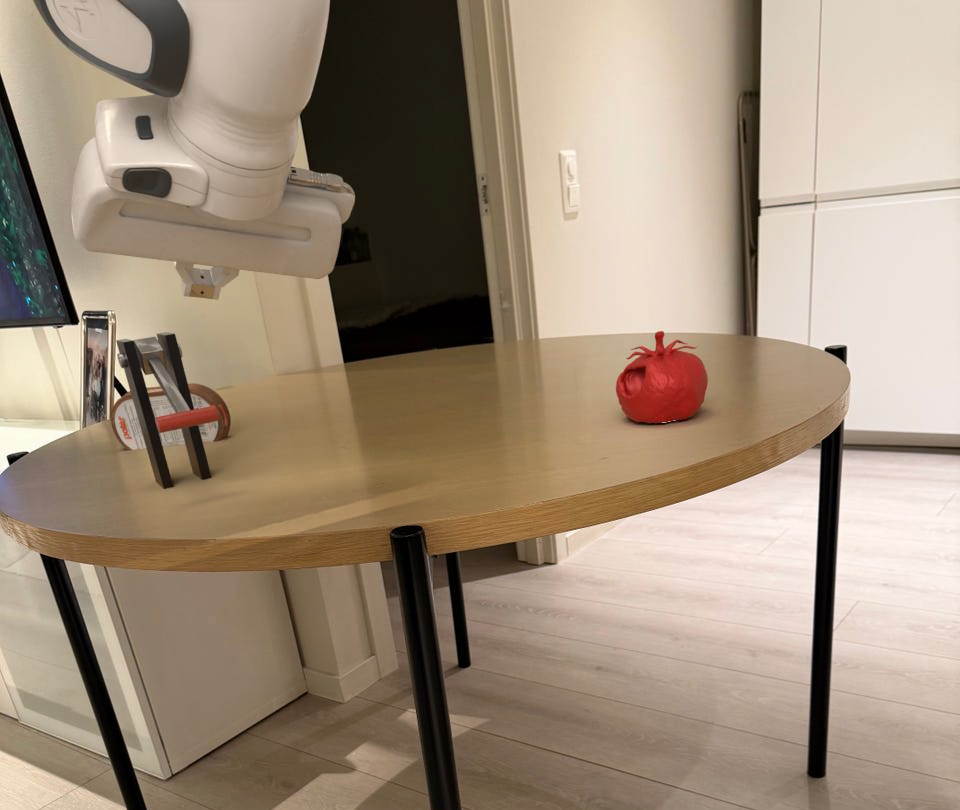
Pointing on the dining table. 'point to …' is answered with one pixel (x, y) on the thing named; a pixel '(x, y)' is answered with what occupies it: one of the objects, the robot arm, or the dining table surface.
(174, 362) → the bracket
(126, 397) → the tin
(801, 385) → the dining table surface
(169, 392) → the lever
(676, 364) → the red tomato
